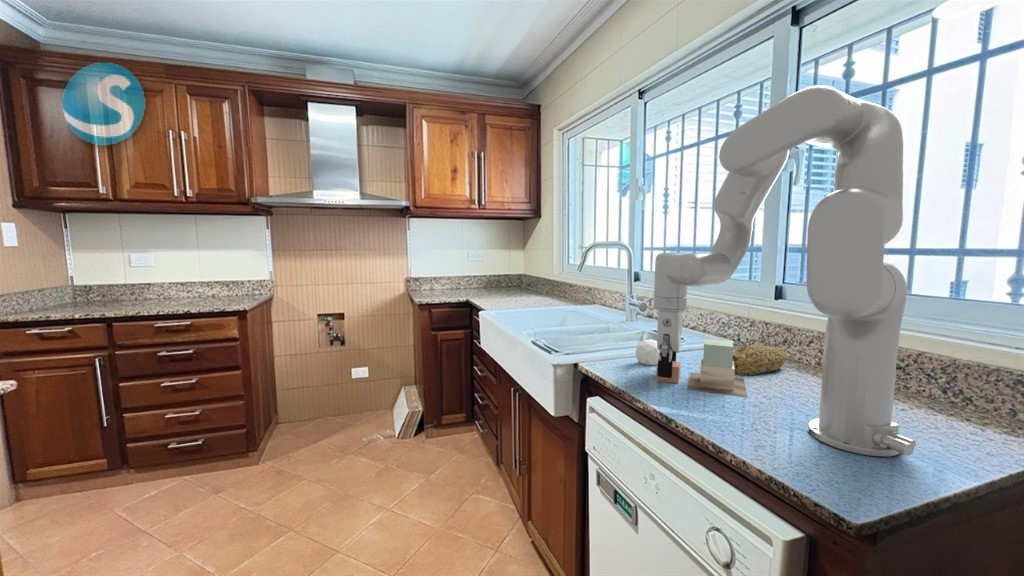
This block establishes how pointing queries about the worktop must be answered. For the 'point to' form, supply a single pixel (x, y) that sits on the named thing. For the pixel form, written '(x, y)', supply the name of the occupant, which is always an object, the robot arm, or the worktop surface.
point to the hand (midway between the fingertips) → (666, 371)
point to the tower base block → (717, 377)
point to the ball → (647, 352)
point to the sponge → (758, 359)
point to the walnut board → (738, 388)
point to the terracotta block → (675, 374)
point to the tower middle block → (718, 353)
